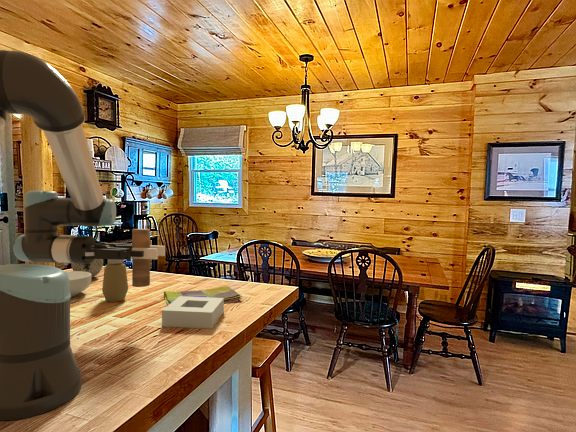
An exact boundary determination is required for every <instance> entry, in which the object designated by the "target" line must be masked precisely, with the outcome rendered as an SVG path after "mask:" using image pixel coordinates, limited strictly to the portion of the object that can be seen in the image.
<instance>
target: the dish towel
mask: <svg viewBox="0 0 576 432" xmlns="http://www.w3.org/2000/svg"><path fill="white" fill-rule="evenodd" d="M179 296H185V297H210V298H224V305H225V304H226V305H227V304H233V303H238V302H239V300H241V299H242V297H243V295H241V294H239V293H238V292H237V291H236V290H234V289H232V287H230V286H228V285H223V286H218V287H213V288H209V289H208V288H206V289H198V290H180V291H179V290H178V291H174V290H172V291H171V290H168V291H167V290H164V291H163V297H164V300H165V303H166V305H167V306H168V305H169V304H171V303H172V302H173V301H174V300H176V299H177V298H178V297H179Z"/></svg>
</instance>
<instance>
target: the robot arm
mask: <svg viewBox="0 0 576 432" xmlns="http://www.w3.org/2000/svg"><path fill="white" fill-rule="evenodd" d="M78 96H79V95H78V94H77V93H76V92H75V90H74V89H73V87H72V85H71V84H70V83H69V82H68V81H67V79H65V78H64V77H63V75H62V74H61V73H59V71H58V70H57V69H56V68H54V67H53V66H52V65H50V64H49V63H47V62H46V61H45V60H43V59H41V58H40V57H38V56H36V55H34V54H30V53H28V52H24V51H21V50H20V51H19V50H7V49H0V130H1V129H3V128H4V127H5V126H6V122H7V115H8V114H10V115H11V114H14V115H15V114H16V115H26V116H29V117H31V118H32V121H33V123H34V125H35V126H36V128H38V129H39V130H41V131H42V132H43V133H44V135H45V138H46V141H47V143H48V145H49V148H50V150H51V153H52V155H53V157H54V160H55V162H56V165H57V168H58V169H59V172H60V175H61V177H62V178H61V179H62V180H63V182H64V185H65V187H66V189H67V193H68V194H69V197H70V198H69V197H59V194H58V192H57V191H51V190H28V191H27V192H26V193H25V194H24V203H23V204H24V206H23V211H24V212H23V213H24V233H23V234H21V235H19V236H17V238H16V239H15V241H14V242H15V243H14V244H13V247H12V250H13V254H14V256H15V257H16V258H17V260H19V261H20V262H21V261H22V262H30V263H18V264H17V263H7V264H0V421H13V420H20V419H21V420H22V419H26V418H30V417H34V416H38V415H41V414H45V413H46V412H49V411H52V410H55V409H56V408H57V409H58V407H61V406H62V405H64V404H66V403H68V402H70V401H71V400H72V399H73V398H75V396H76V395H77V394H79V392H80V390H81V389H82V373H81V369H80V368H79V366H78V362H77V361H76V358H75V354H74V352H73V350H72V348H71V298H72V297H71V293H70V290H69V278H68V275H67V274H66V273H65V272H66V271H64V270H63V269H61V268H59V267H57V266H53V265H46V264H39V263H47V264H48V263H51V264H53V263H55V264H63V265H64V266H68V265H69V264H71V263H76V264H89V263H91V262H92V261H93V260H94V259H103V260H108V259H117V260H123V261H125V260H126V262H131V261H132V259H150V260H158V257H165V256H166V245H153V244H152V245H151V244H150V248H132V243H122V242H121V243H119V242H111V243H109V242H105V241H104V242H103V241H101V242H98V243H97V241H96V239H95V238H94V237H93V236H90V235H73V234H69V235H68V234H59V233H58V232H59V226H61V227H65V226H67V227H68V226H69V227H70V226H71V227H74V226H76V227H102V226H103V227H104V226H105V227H106V226H108V227H109V226H112V225H113V224H114V223H115V222H116V219H117V205H116V202H115V201H114V199H111V198H110V199H109V198H104V193H103V190H102V188H101V184H100V181H99V177H98V174H97V171H96V167H95V164H94V161H93V158H92V157H93V156H92V153H91V151H90V147H89V144H88V140H87V136H86V133H85V130H84V127H83V124H84V123H85V121H86V116H85V111H84V108H83V104H82V103H81V100H80V99H79V97H78ZM31 262H32V263H31ZM37 263H38V264H37Z"/></svg>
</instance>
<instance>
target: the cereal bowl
mask: <svg viewBox="0 0 576 432" xmlns="http://www.w3.org/2000/svg"><path fill="white" fill-rule="evenodd" d="M64 272H65V273H66V274H67V275H68V278H69V290H70V293H71V298H73V297H75V296H77V295H78V294H80V293H82V292H84V291H85V290H87V289H88V288H89V286H90V285H91V283H92V278H93V277H92V276H91V273H89V272H83V271H73V270H72V271H68V270H67V271H64ZM91 277H92V278H91Z"/></svg>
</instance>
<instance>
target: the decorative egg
mask: <svg viewBox="0 0 576 432" xmlns="http://www.w3.org/2000/svg"><path fill="white" fill-rule="evenodd" d="M70 264H71V265H70V266H71V269H72V271H83V272H89V273H91V276H92V277H91V279H92V278H94V277H97V275H99V274H100V272H101V270H102V269H103V266H104V259H94V260H93V261H92V262H91V263H89V264H76V263H70Z"/></svg>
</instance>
